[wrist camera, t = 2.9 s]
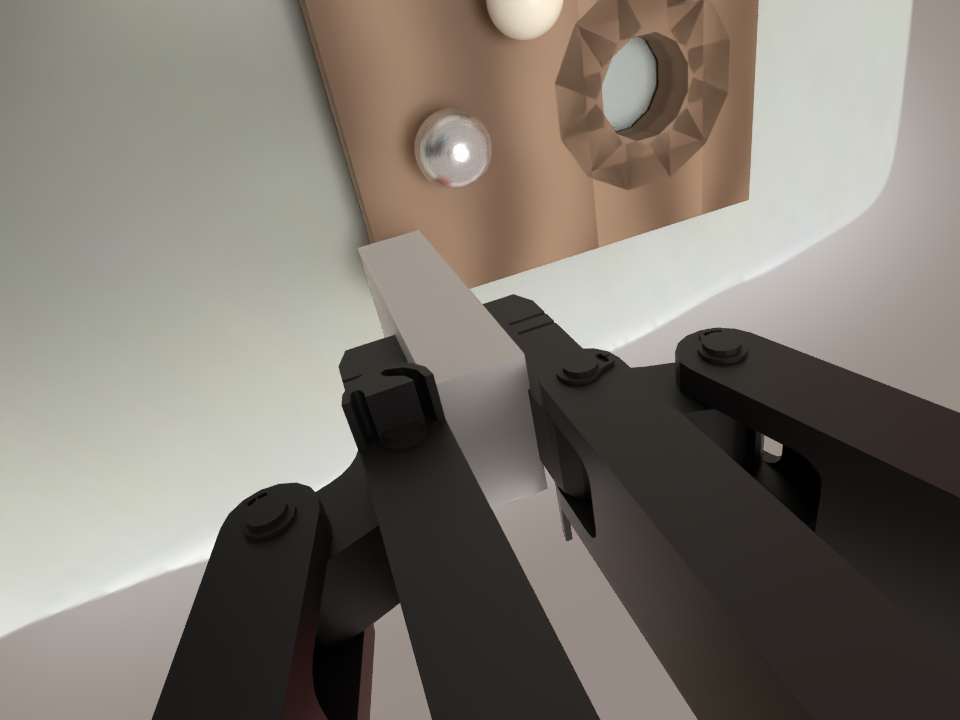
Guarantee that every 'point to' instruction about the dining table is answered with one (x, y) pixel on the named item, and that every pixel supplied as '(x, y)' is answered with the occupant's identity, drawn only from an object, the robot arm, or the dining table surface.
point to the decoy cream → (524, 16)
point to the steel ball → (453, 148)
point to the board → (538, 122)
